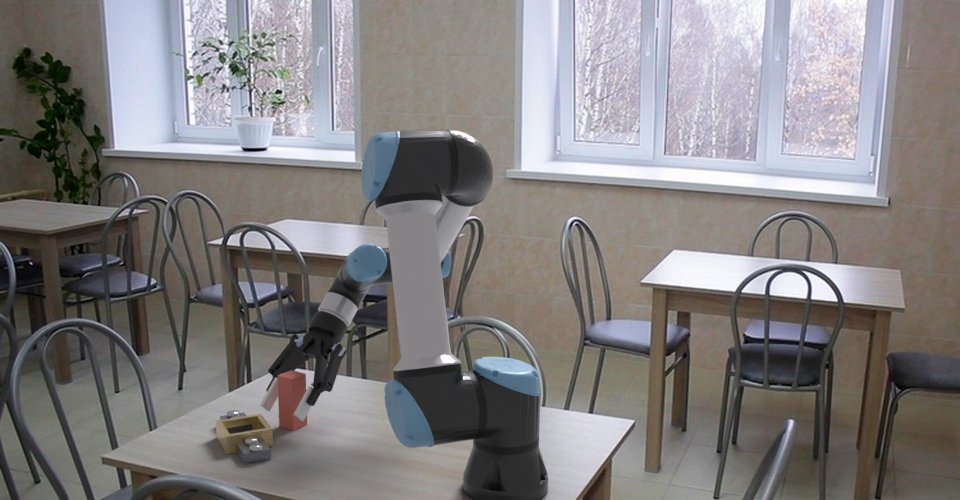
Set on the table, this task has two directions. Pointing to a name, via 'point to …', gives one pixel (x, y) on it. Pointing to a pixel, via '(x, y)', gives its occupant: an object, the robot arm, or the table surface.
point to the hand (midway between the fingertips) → (281, 413)
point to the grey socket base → (245, 436)
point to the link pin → (290, 398)
